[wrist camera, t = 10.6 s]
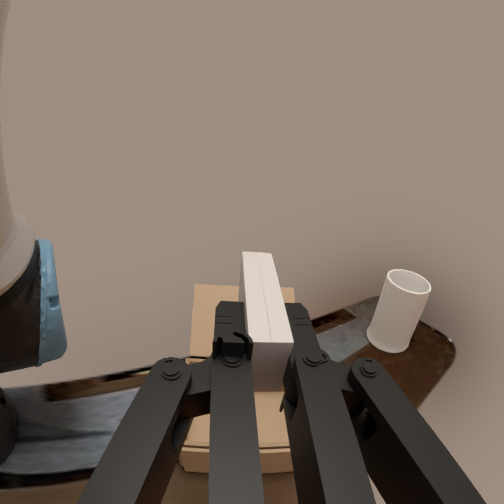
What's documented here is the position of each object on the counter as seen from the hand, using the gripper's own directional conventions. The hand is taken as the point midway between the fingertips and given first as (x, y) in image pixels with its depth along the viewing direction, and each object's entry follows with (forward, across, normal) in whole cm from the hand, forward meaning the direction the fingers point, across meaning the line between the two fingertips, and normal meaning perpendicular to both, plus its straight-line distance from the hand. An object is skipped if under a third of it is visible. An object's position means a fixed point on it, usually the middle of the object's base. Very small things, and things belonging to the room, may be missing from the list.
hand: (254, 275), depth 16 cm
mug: (+21, +30, -24) cm, 44 cm away
